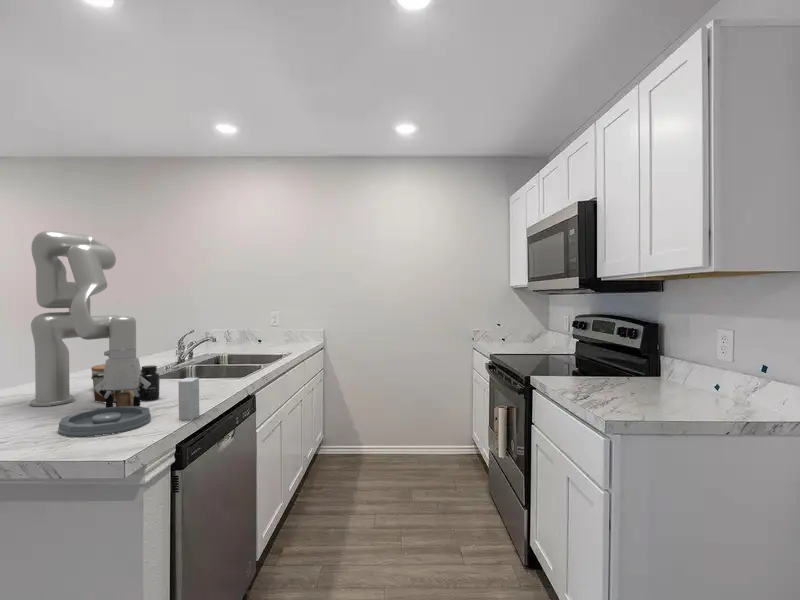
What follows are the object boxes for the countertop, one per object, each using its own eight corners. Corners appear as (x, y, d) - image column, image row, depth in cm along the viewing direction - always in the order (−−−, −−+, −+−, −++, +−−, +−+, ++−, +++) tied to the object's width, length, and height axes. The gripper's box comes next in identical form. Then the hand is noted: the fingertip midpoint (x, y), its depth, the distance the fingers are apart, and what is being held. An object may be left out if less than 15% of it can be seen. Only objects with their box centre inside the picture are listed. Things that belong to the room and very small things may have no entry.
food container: (132, 400, 163) (132, 372, 163) (117, 404, 157) (116, 375, 157) (107, 397, 167) (107, 370, 167) (91, 401, 161) (91, 373, 161)
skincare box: (185, 415, 144) (185, 377, 144) (199, 414, 144) (199, 377, 144) (178, 420, 138) (177, 381, 138) (192, 420, 138) (192, 381, 138)
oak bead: (120, 406, 154) (120, 389, 154) (132, 404, 157) (132, 387, 157) (127, 408, 152) (127, 390, 152) (139, 405, 155) (139, 388, 155)
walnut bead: (113, 412, 147) (113, 393, 147) (125, 409, 150) (125, 391, 150) (120, 413, 145) (120, 395, 145) (132, 411, 148) (132, 392, 148)
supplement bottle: (150, 401, 161) (150, 368, 161) (133, 400, 162) (133, 367, 162) (163, 397, 168) (163, 365, 167) (147, 396, 169) (147, 364, 169)
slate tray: (42, 428, 129) (42, 419, 129) (124, 410, 149) (124, 402, 149) (84, 442, 118) (84, 431, 118) (167, 420, 138) (167, 411, 138)
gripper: (87, 357, 141) (88, 413, 142) (149, 355, 146) (149, 410, 146) (96, 353, 149) (97, 407, 149) (155, 352, 153) (155, 404, 154)
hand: (123, 408), depth 148 cm, fingers open, 6 cm apart
